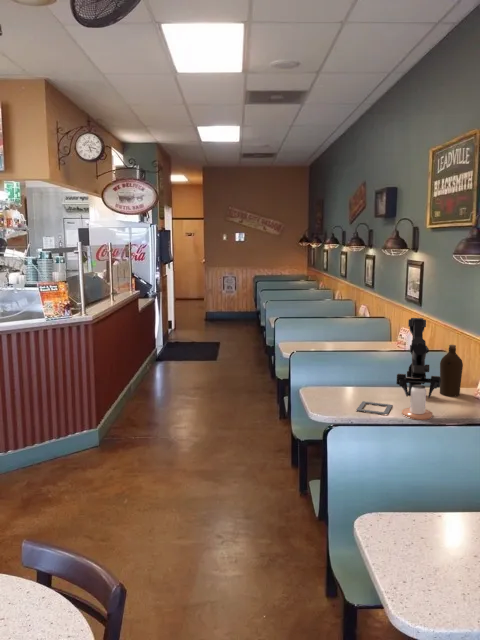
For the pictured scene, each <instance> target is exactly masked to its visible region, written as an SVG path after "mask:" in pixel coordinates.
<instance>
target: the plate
mask: <svg viewBox="0 0 480 640" xmlns="http://www.w3.org/2000/svg"><path fill="white" fill-rule="evenodd" d="M402 414H403V415H405V416H407V417H410V418H412V419H411V420H416V421H417V420H418V421H425V420H430V418H431V417H432V418H433V415H434V414H433V412H432V411H431V410H428V409H426V408H425V413H424V414H421V415H417V414H413V413H411V412H410V407H406V408H403V409H402V410H401V415H402ZM403 415H402V416H403ZM405 416H404V417H405ZM407 417H406V418H407ZM410 418H409V419H410ZM432 418H431V419H432Z"/></svg>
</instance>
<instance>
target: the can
mask: <svg viewBox="0 0 480 640" xmlns="http://www.w3.org/2000/svg"><path fill="white" fill-rule="evenodd" d="M426 401H427V389H426V386H425V385H424V384H421V385H412V388H411V395H410V403H409V408H410V412H411V413H413V414H417V415H421V414H424V413H425V409H426V404H427V403H426Z"/></svg>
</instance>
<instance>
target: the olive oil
mask: <svg viewBox="0 0 480 640" xmlns="http://www.w3.org/2000/svg"><path fill="white" fill-rule="evenodd" d="M463 366H464V363H463V360H462V358H461V357H460V356H459V355H458V354H457V345H456V344H449V345H448V351H447V353H446V354H445V355H444V356H443V357H442V358H441V360H440V361H439V376H440V378H441V383H440V387H439V394H440V395H442V396H446V397H459V396H460V394H461V385H462V376H463V375H462V374H463V369H464V367H463Z"/></svg>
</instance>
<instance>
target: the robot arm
mask: <svg viewBox="0 0 480 640" xmlns="http://www.w3.org/2000/svg"><path fill="white" fill-rule="evenodd" d="M407 323H408V324H407V326H408V328H409V332H410V334H411V336H412V338H411V339H412V340H411V344H409V353H410V355H411V363H410V365H409V366H408V369H407V371H406V373H397V374H396V385H397V386H398V385H399V387H401V388H402V389H403V391H404V394H405V396H406V397H408V396H411V388H412V385H424V384H429V390H428V396H427V397H428V399H431V395H432V393H433V392H434V390H435V389H437V388H440V383H441V378H440V375H431V376H430V378H427V375H426V373H430V364H426V358H427V354H428V353H430V349H429V348H428V346H427V342H426V340H425V339H424V336H423V335H424V334H423V333H424V331H425V328H427V320H426V319H425V318H422V317H411V318H410V319H408V322H407Z"/></svg>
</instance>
